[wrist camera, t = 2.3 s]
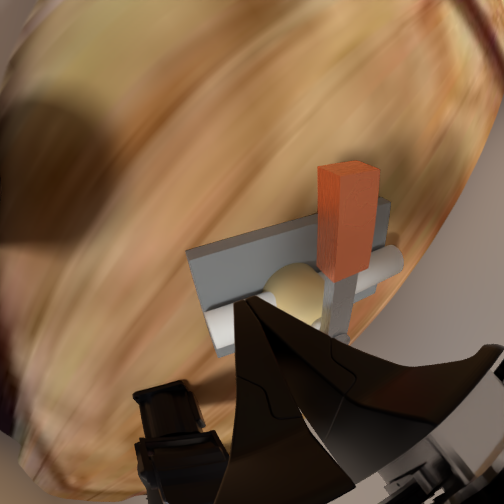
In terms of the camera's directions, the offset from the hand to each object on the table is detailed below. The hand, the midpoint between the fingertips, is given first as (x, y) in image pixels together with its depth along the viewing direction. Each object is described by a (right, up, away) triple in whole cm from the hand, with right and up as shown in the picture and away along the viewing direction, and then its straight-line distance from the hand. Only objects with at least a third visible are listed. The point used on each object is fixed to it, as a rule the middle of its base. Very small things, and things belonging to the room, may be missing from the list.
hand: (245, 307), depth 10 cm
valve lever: (+5, +1, +7) cm, 9 cm away
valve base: (+5, 0, +17) cm, 18 cm away
